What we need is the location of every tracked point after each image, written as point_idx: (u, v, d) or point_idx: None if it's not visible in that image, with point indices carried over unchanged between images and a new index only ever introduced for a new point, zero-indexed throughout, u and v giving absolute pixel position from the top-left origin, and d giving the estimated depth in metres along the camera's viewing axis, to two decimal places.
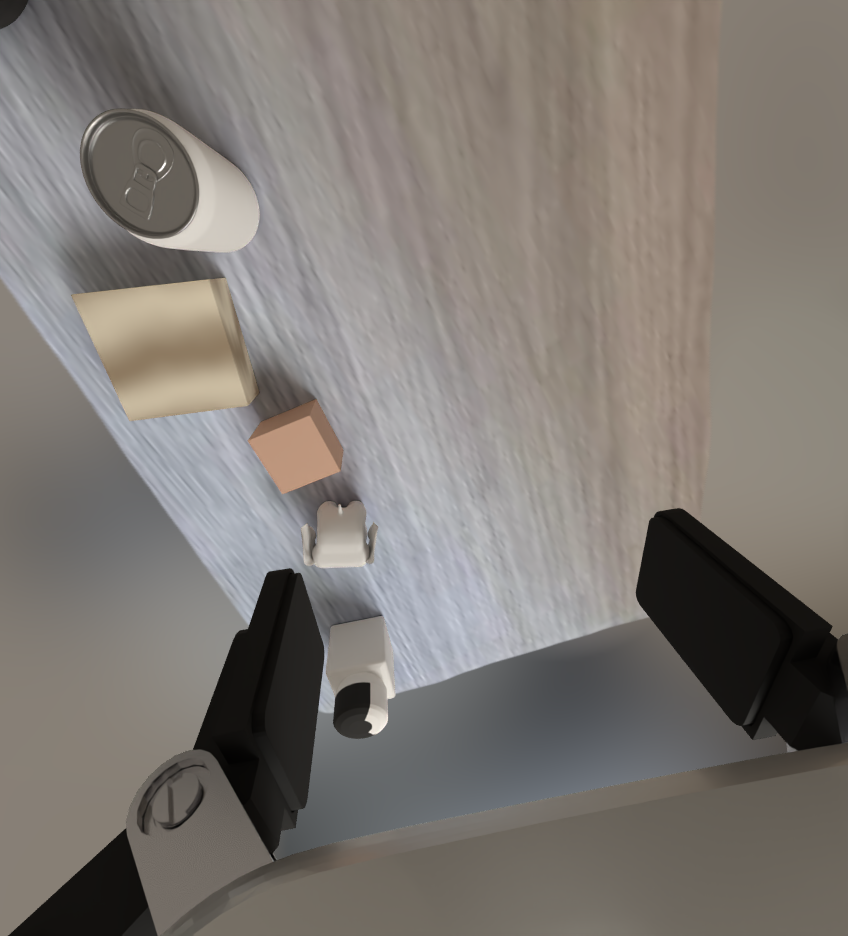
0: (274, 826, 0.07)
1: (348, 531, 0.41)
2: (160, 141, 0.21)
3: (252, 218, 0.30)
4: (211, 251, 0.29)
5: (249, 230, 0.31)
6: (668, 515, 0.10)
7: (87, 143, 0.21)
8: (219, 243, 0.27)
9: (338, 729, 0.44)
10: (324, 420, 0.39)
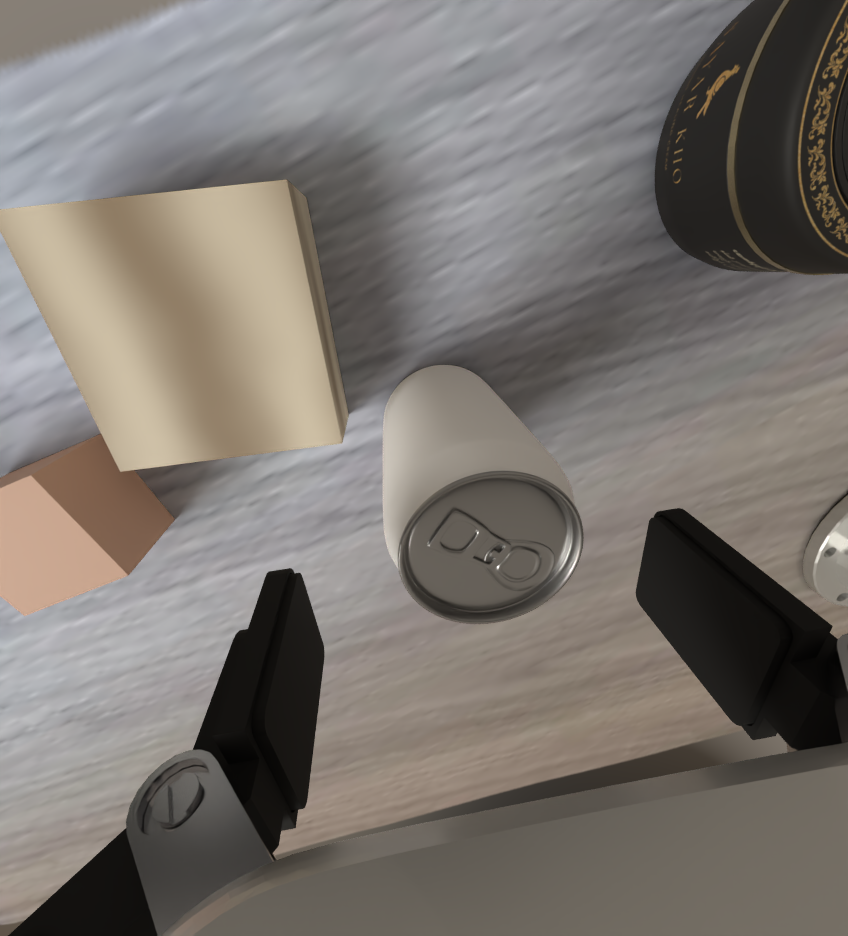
0: (274, 826, 0.07)
1: None
2: (535, 577, 0.13)
3: None
4: None
5: None
6: (668, 515, 0.10)
7: (544, 480, 0.11)
8: None
9: None
10: None
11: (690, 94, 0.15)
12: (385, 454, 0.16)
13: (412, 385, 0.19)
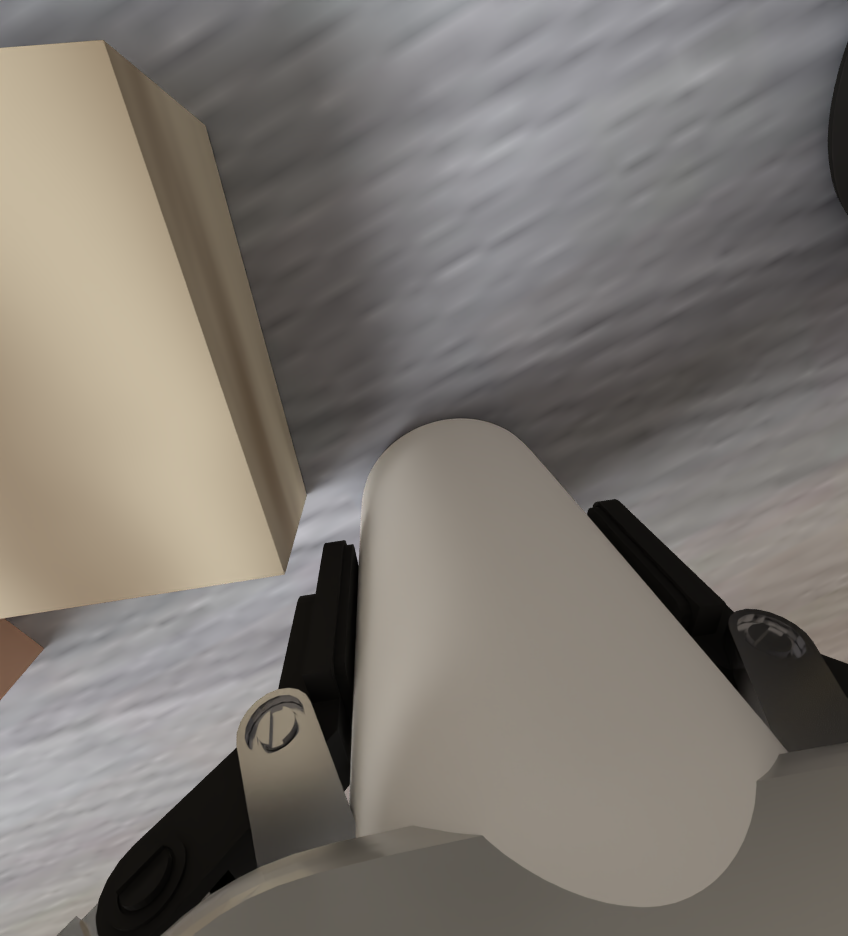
0: None
1: None
2: None
3: None
4: None
5: None
6: (602, 505, 0.11)
7: None
8: None
9: None
10: None
11: None
12: (359, 632, 0.08)
13: (409, 465, 0.11)
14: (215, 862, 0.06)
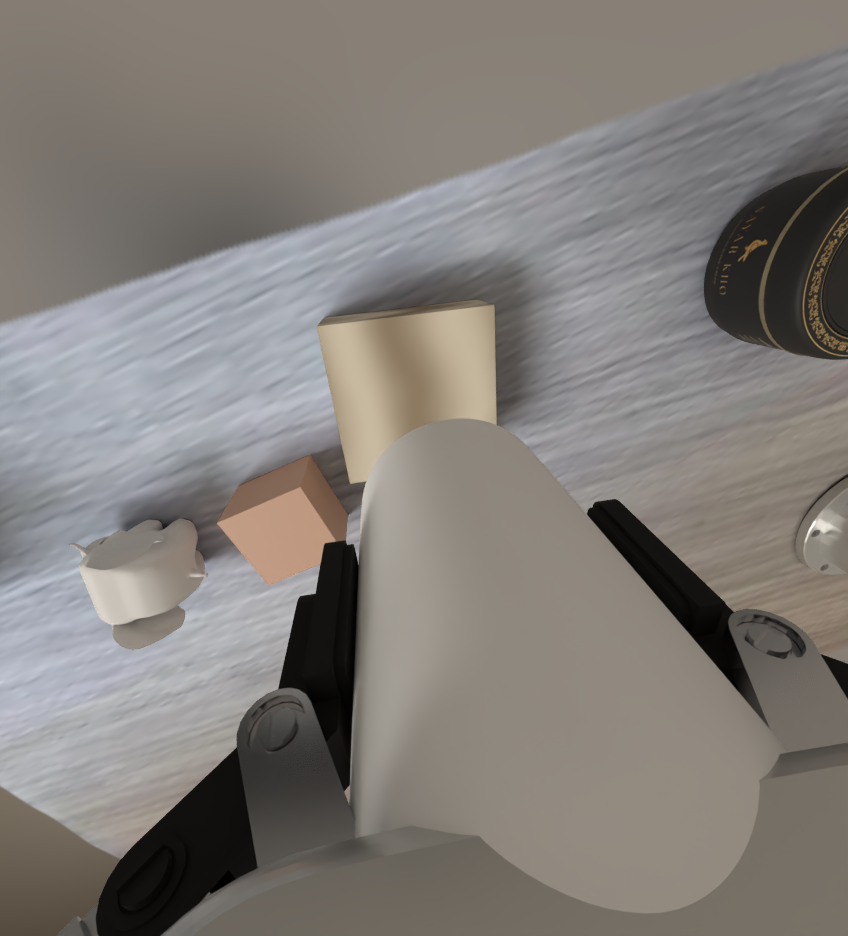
0: None
1: (165, 598, 0.28)
2: None
3: None
4: None
5: None
6: (602, 505, 0.11)
7: None
8: None
9: None
10: None
11: (733, 243, 0.24)
12: (358, 632, 0.08)
13: (409, 465, 0.11)
14: (215, 862, 0.06)
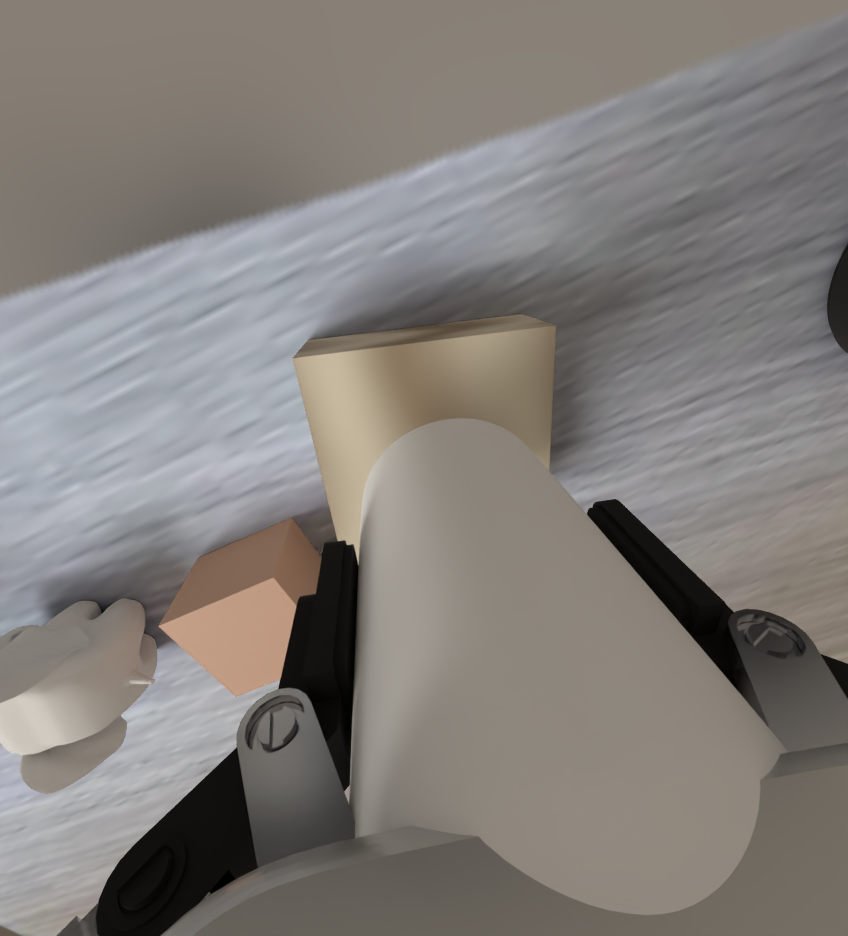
0: None
1: (94, 718, 0.20)
2: None
3: None
4: None
5: None
6: (602, 505, 0.11)
7: None
8: None
9: None
10: None
11: None
12: (358, 633, 0.08)
13: (409, 465, 0.11)
14: (215, 862, 0.06)
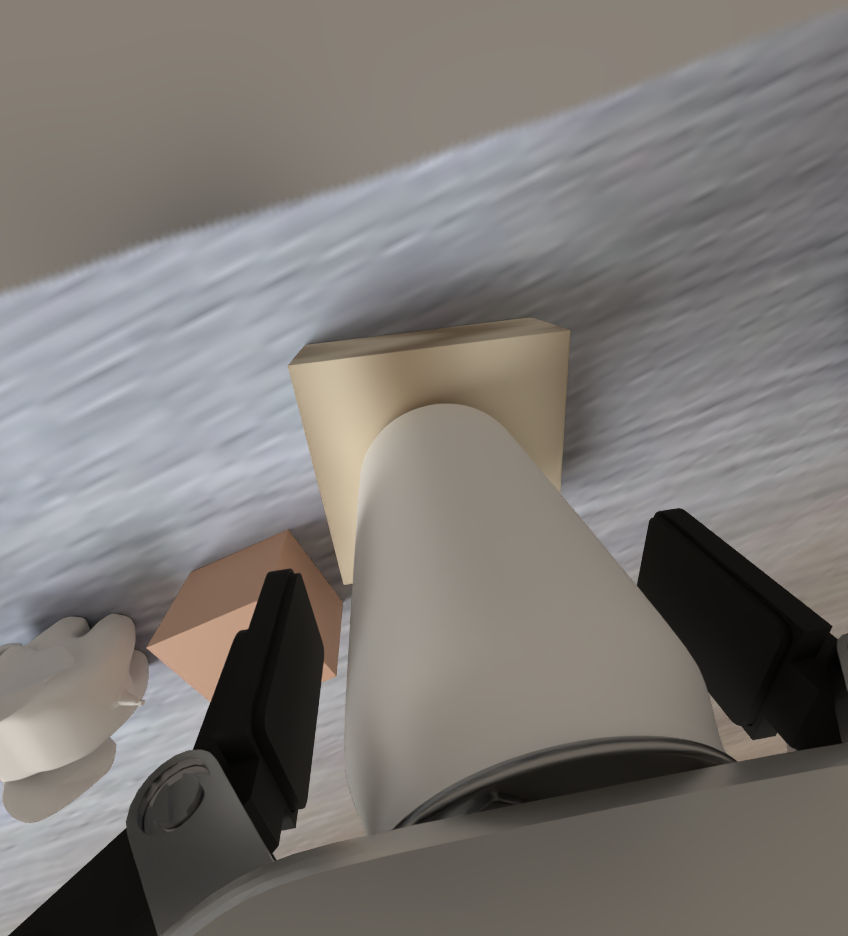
0: (274, 826, 0.07)
1: (80, 743, 0.19)
2: None
3: None
4: None
5: None
6: (668, 515, 0.10)
7: (692, 733, 0.05)
8: None
9: None
10: None
11: None
12: (355, 569, 0.10)
13: (400, 440, 0.13)
14: None
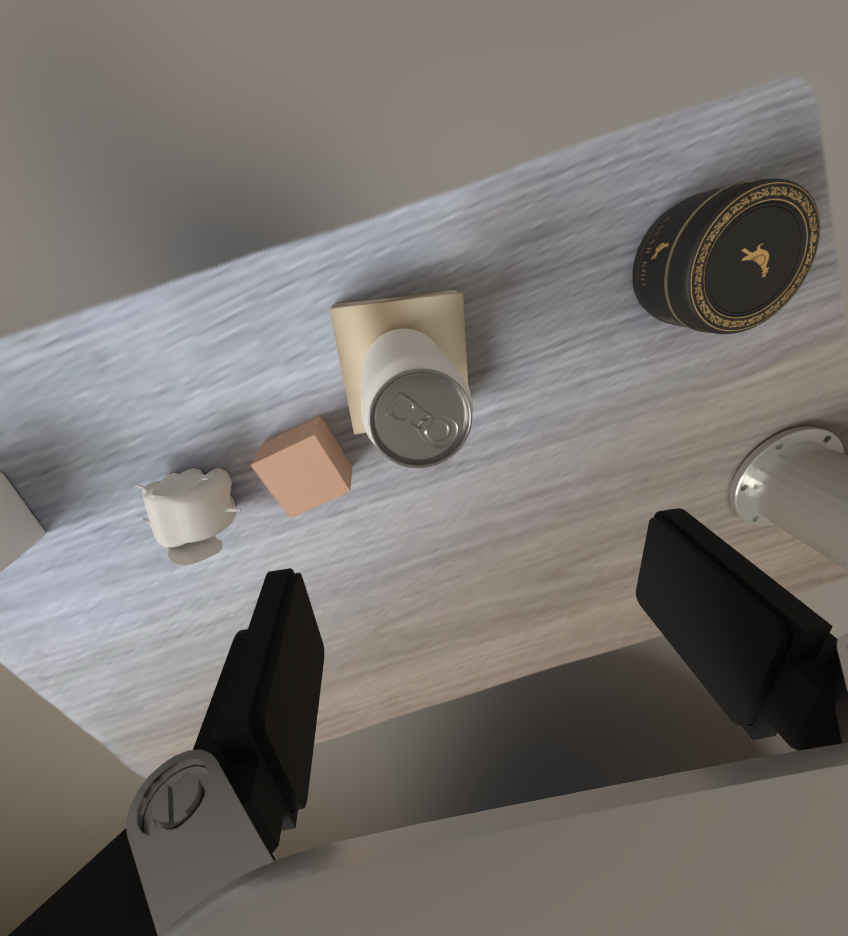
0: (274, 826, 0.07)
1: (208, 526, 0.35)
2: (448, 439, 0.23)
3: None
4: None
5: None
6: (668, 515, 0.10)
7: (447, 376, 0.21)
8: None
9: None
10: None
11: (648, 245, 0.32)
12: (363, 378, 0.26)
13: (381, 339, 0.28)
14: None
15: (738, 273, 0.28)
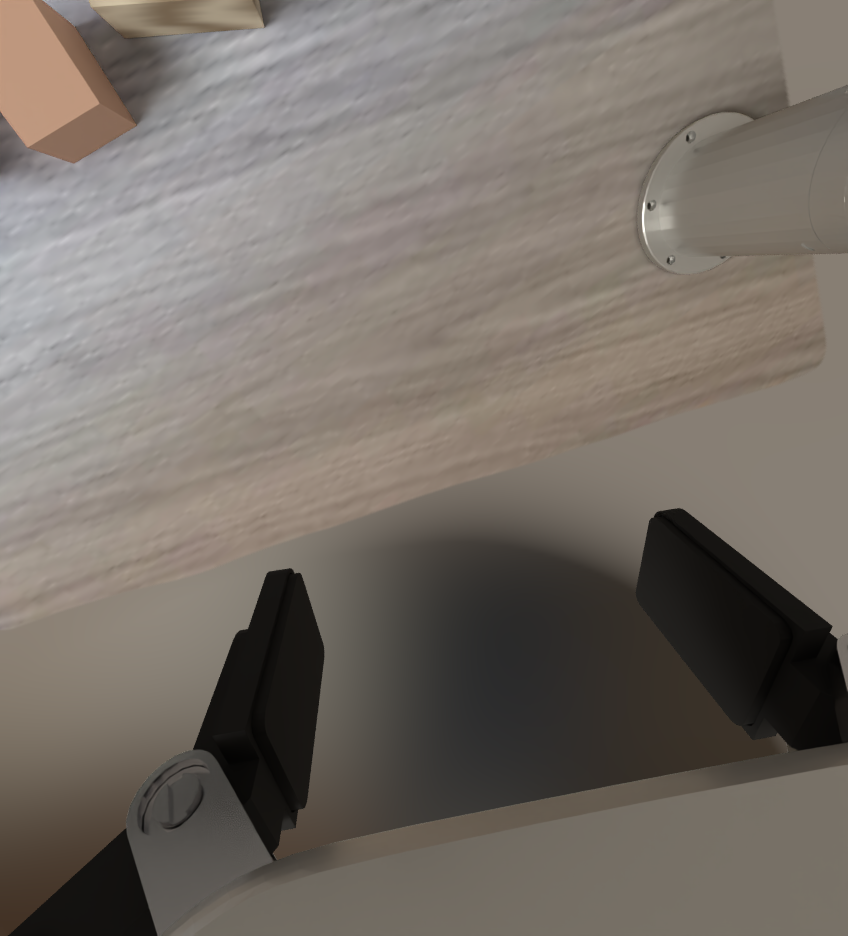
0: (274, 826, 0.07)
1: None
2: None
3: None
4: None
5: None
6: (668, 515, 0.10)
7: None
8: None
9: None
10: (107, 133, 0.31)
11: None
12: None
13: None
14: None
15: None
